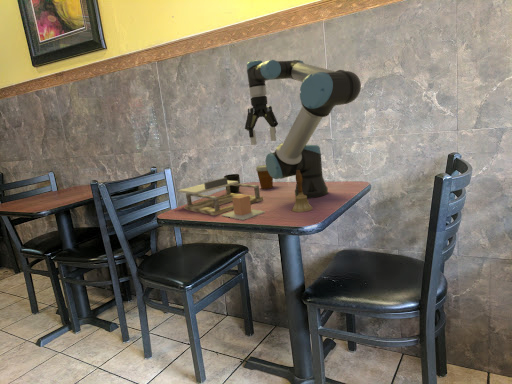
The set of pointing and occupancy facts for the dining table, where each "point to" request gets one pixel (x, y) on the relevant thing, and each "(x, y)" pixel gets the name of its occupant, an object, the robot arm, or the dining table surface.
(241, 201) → the block
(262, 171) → the disposable coffee cup
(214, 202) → the open wooden rack
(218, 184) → the sliding lid
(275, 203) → the dining table surface
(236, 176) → the mug
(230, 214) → the pad
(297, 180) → the hand bell
